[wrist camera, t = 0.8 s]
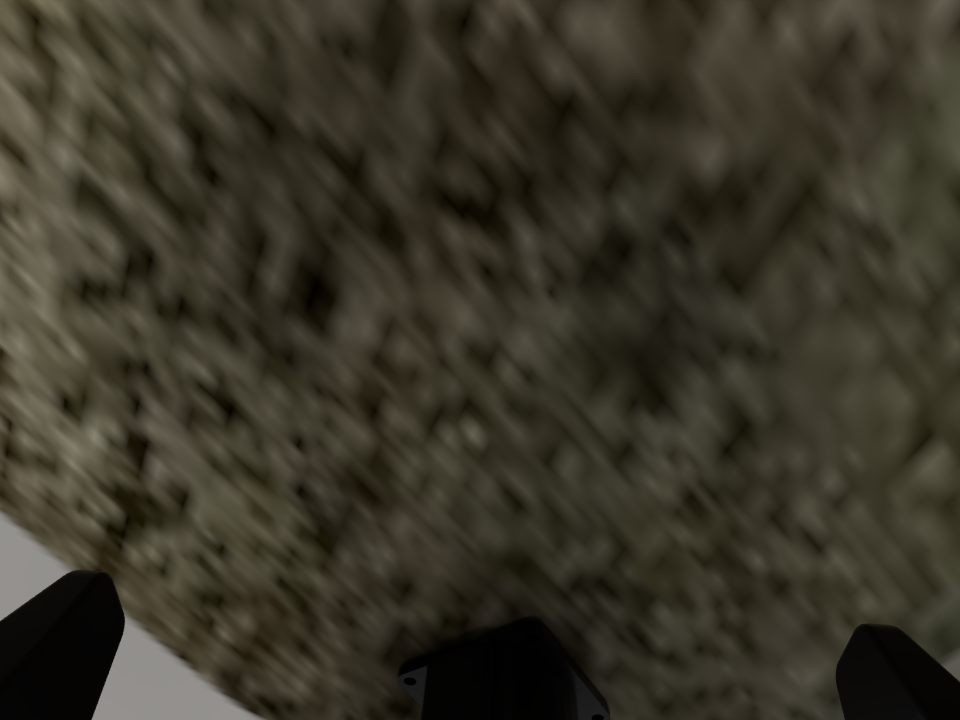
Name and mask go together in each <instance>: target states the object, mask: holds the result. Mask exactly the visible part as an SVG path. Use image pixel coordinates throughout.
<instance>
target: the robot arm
mask: <svg viewBox="0 0 960 720" xmlns="http://www.w3.org/2000/svg"><path fill="white" fill-rule="evenodd" d="M124 625H125V617H124V612H123V609H122V606H121V603H120V600H119V597H118V594H117V591H116V588H115V585H114V582H113V579H112V577H111V576H110V575H109V574H108V573H107V572H103V571H89V570H75V571H72V572H70V573H67V574H66V575H64V576H63V577H61V578H60V579H58V580H57V581H56V582H54V583H53V584H51V585H50V586H49V587H47V588H46V589H44V590H43V591H42V592H40V593H39V594H37V595H36V596H35V597H33V598H32V599H30V600H29V601H28V602H26V603H25V604H24V605H22V606H21V607H19V608H18V609H16V610H15V611H14V612H12V613H11V614H9V615H8V616H7V617H5V618H4V619H2V620H1V621H0V720H92V717H93V714H94V711H95V709H96V706H97V704H98V701H99V698H100V695H101V693H102V690H103V687H104V685H105V682H106V679H107V676H108V674H109V671H110V668H111V665H112V662H113V660H114V657H115V654H116V652H117V649H118V646H119V643H120V641H121V638H122V635H123V631H124ZM398 684H399V685H400V686H401V687H402V688H403V689H404V690H405V691H406V692H407V693H408V694H409V695H410V696H411V697H412V698H413V699H414V700H415V701H416V702H417V703H418V704H419V705H420V706H421V707H422V712H421V720H610V712H609V707H608V705H607V704H606V703H605V701H604V700H603V699H602V698H601V696H600V695H599V694H598V693H597V691H596V690H595V689H594V688H593V686H592V685H591V684H590V683H589V681H588V680H587V679H586V678H585V676H584V675H583V674H582V673H581V671H580V670H579V669H578V668H577V666H576V665H575V664H574V663H573V661H572V660H571V659H570V658H569V656H568V655H567V654H566V653H565V651H564V650H563V649H562V648H561V646H560V645H559V644H558V643H557V641H556V640H555V639H554V638H553V636H552V635H551V634H550V633H549V631H548V630H547V629H546V628H545V626H544V625H543V624H541V623H540V622H537V621H527V622H524V623H521V624H518V625H515V626H513V627H510V628H507V629H504V630H502V631H499V632H496V633H493V634H490V635H488V636H485V637H482V638H479V639H476V640H474V641H471V642H468V643H465V644H462V645H460V646H457V647H454V648H451V649H448V650H446V651H443V652H440V653H437V654H434V655H432V656H429V657H426V658H423V659H420V660H418V661H415V662H412V663H409V664H407V665H404V666H402V667H401V668H400V669H399V673H398ZM836 684H837V689H838V693H839V697H840V701H841V705H842V709H843V713H844V717H845V720H960V682H959V681H958V680H957V679H956V678H955V677H954V676H953V675H952V674H950V673H949V672H948V671H947V670H946V669H945V668H944V667H943V666H942V665H940V664H939V663H938V662H937V661H936V660H935V659H934V658H933V657H931V656H930V655H929V654H928V653H927V652H926V651H925V650H924V649H923V648H921V647H920V646H919V645H918V644H917V643H916V642H915V641H914V640H912V639H911V638H910V637H909V636H908V635H907V634H906V633H905V632H903V631H902V630H900V629H899V628H897V627H895V626H890V625H879V624H861V625H860V626H858V627H857V628H856V629H855V630H854V632H853V634H852V636H851V638H850V640H849V642H848V644H847V646H846V648H845V650H844V652H843V654H842V656H841V658H840V660H839V662H838V664H837V668H836Z"/></svg>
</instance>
